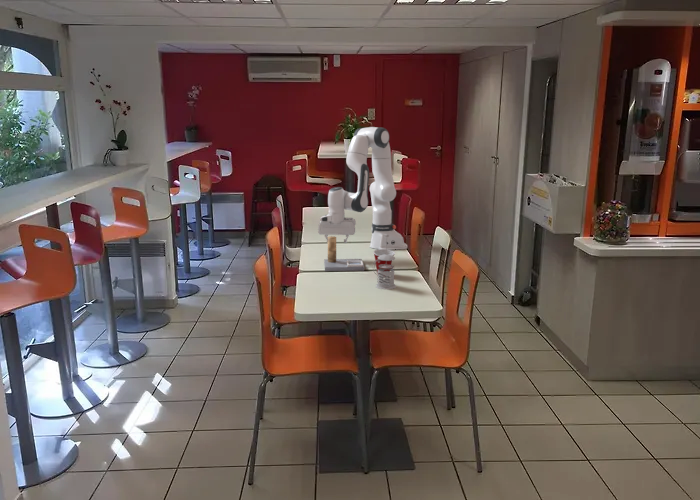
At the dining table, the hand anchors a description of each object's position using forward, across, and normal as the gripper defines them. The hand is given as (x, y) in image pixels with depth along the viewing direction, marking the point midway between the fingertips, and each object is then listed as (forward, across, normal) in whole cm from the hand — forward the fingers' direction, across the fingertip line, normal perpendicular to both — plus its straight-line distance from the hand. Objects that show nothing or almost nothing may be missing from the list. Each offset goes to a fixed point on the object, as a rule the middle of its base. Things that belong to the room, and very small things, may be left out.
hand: (336, 242), depth 319 cm
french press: (+11, -30, +45) cm, 55 cm away
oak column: (+8, 0, +13) cm, 15 cm away
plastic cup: (+11, -28, +27) cm, 40 cm away
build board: (+10, -6, +15) cm, 19 cm away
